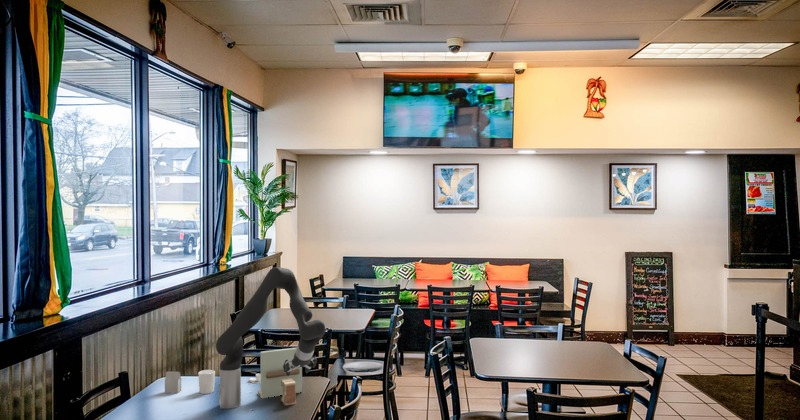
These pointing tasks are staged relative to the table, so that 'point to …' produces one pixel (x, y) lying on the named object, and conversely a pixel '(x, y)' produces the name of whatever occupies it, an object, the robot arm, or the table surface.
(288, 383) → the wall cabinet
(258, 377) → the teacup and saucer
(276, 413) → the table surface
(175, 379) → the grey brown rectangular block
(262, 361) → the wall board
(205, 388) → the white cup
